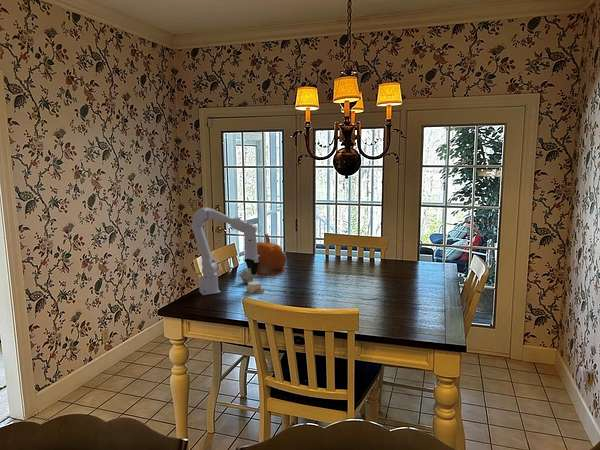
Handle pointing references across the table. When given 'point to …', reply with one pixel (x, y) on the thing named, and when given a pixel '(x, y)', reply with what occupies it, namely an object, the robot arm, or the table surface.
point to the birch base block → (255, 290)
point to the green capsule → (251, 273)
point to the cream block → (254, 285)
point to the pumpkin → (270, 258)
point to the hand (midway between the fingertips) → (252, 273)
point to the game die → (246, 277)
